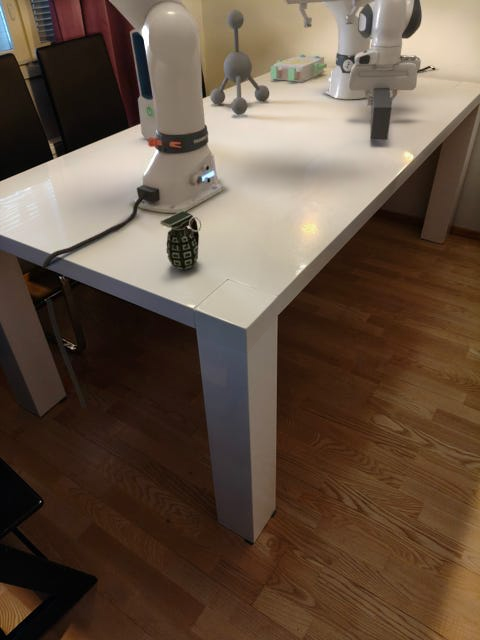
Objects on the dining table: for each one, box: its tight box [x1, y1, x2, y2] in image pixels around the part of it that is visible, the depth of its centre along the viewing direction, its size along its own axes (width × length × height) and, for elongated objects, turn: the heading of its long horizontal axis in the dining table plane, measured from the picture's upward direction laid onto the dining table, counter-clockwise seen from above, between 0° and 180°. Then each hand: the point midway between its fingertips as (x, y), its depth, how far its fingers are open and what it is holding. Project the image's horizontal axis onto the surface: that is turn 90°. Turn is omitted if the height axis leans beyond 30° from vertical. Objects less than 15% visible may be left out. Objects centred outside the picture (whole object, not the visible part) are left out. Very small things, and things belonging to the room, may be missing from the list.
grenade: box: [159, 211, 202, 271], centre depth 88 cm, size 7×6×10 cm
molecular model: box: [209, 9, 270, 116], centre depth 169 cm, size 24×22×30 cm
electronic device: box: [129, 28, 158, 140], centre depth 143 cm, size 12×8×30 cm, turn 47°
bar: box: [370, 88, 393, 141], centre depth 144 cm, size 27×5×9 cm, turn 168°
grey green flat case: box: [270, 54, 328, 83], centre depth 210 cm, size 26×6×20 cm
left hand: (328, 25), depth 108 cm, fingers open, 8 cm apart
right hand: (379, 105), depth 153 cm, fingers closed on bar, 4 cm apart
